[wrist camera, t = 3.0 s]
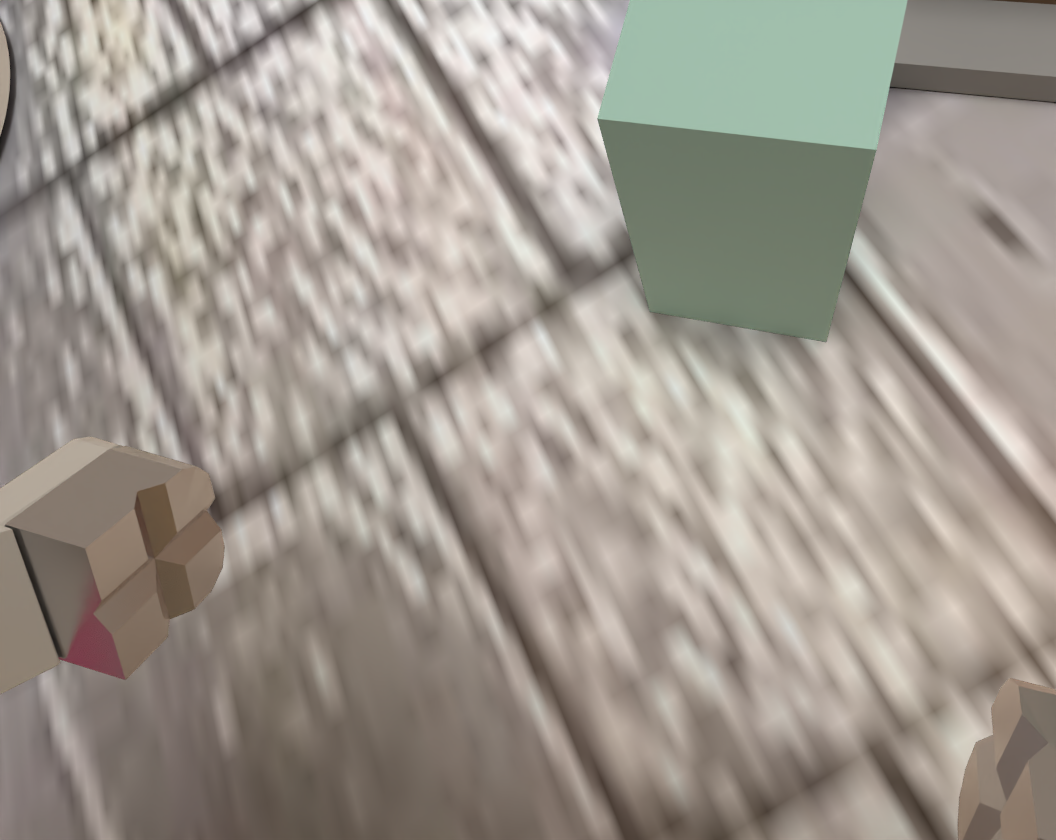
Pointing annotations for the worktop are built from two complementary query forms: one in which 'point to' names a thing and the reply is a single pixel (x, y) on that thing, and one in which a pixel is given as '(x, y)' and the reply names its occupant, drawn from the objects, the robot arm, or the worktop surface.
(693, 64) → the pillar
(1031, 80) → the board
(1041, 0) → the base block
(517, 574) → the worktop surface
